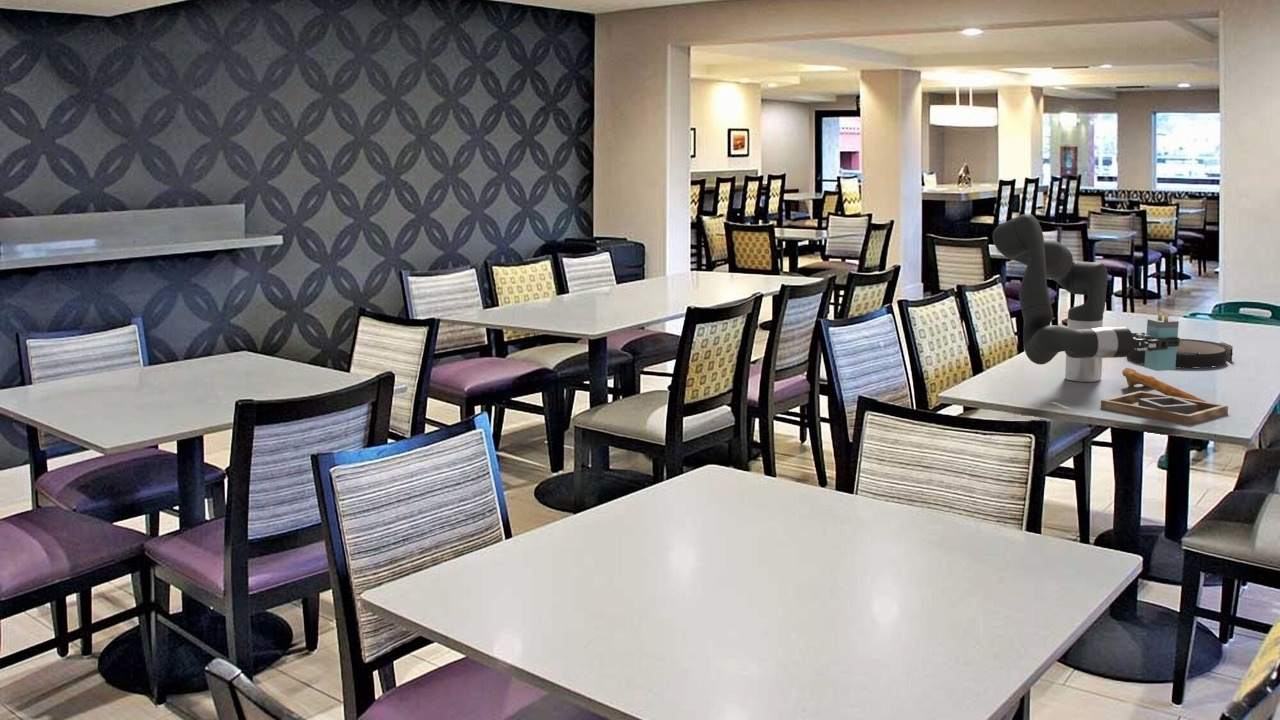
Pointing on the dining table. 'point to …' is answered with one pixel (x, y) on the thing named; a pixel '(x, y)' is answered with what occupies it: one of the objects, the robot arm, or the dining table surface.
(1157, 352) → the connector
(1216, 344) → the belt
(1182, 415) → the walled box
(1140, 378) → the bone
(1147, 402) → the socket
